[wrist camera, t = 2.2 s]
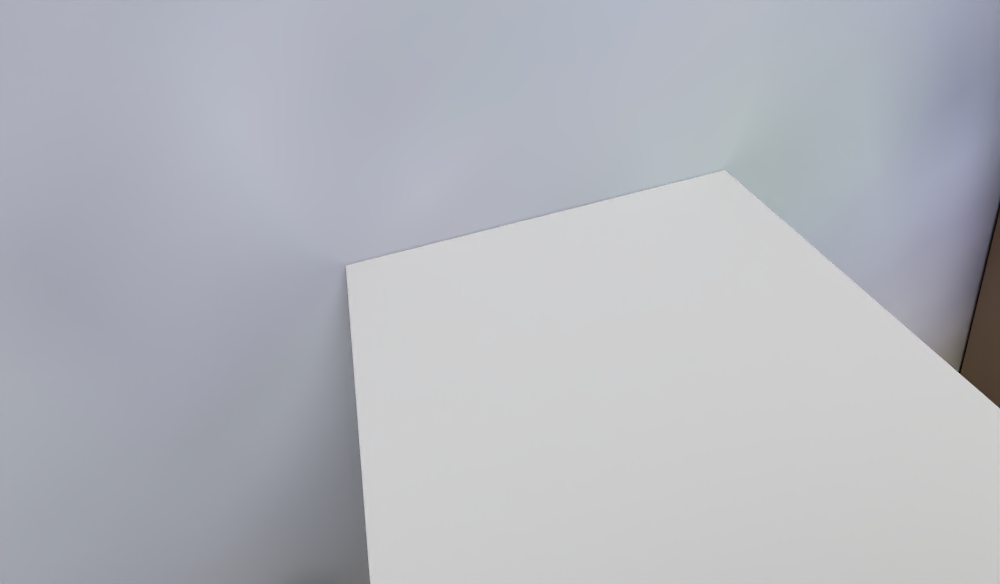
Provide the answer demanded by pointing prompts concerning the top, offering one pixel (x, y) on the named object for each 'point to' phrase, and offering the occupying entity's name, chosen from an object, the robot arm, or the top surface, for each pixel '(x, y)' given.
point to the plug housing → (659, 409)
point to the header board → (986, 330)
